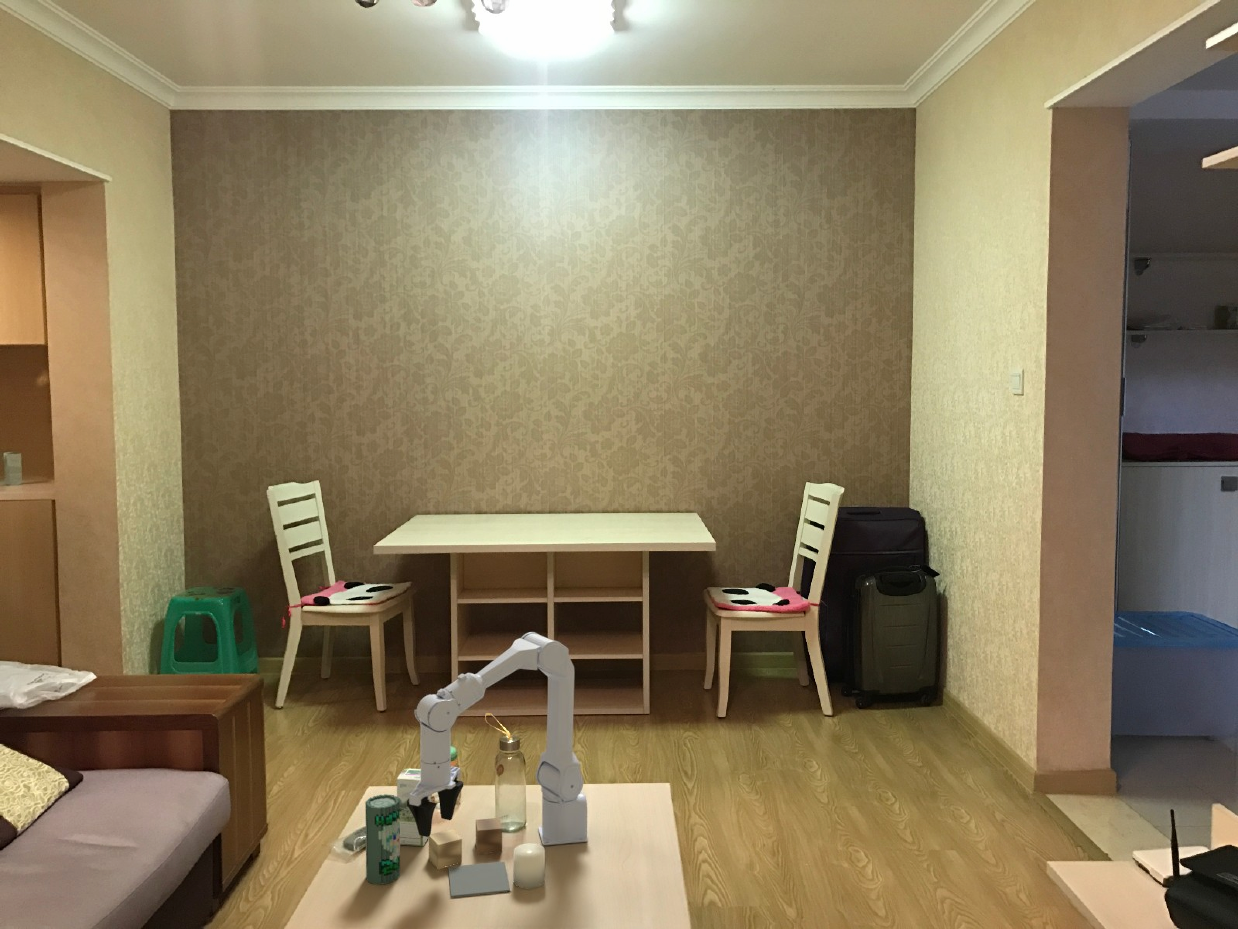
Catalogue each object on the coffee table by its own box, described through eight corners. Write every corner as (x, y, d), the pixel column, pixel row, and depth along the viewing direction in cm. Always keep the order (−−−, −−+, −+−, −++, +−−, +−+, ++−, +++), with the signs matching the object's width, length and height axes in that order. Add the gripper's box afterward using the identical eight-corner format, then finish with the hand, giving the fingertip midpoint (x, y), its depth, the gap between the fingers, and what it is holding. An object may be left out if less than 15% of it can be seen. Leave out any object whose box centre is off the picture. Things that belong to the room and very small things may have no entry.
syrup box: (431, 834, 202) (431, 768, 201) (423, 847, 197) (423, 779, 195) (405, 833, 203) (405, 766, 202) (396, 846, 197) (395, 778, 196)
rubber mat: (504, 863, 190) (504, 861, 190) (510, 892, 180) (510, 889, 180) (448, 868, 188) (448, 866, 188) (451, 898, 177) (450, 895, 177)
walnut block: (499, 841, 200) (499, 817, 200) (502, 852, 195) (502, 828, 195) (475, 843, 199) (475, 819, 199) (477, 854, 194) (477, 830, 194)
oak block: (452, 852, 195) (452, 829, 194) (461, 863, 191) (461, 839, 190) (428, 859, 192) (428, 835, 192) (438, 869, 188) (438, 845, 188)
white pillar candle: (542, 871, 188) (542, 842, 187) (546, 887, 182) (546, 856, 181) (511, 874, 186) (511, 845, 186) (515, 890, 180) (515, 859, 180)
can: (390, 886, 181) (390, 809, 180) (361, 882, 183) (360, 806, 181) (404, 870, 187) (403, 796, 186) (375, 867, 188) (374, 793, 187)
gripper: (431, 775, 175) (432, 847, 176) (473, 748, 188) (473, 815, 189) (399, 769, 178) (400, 840, 179) (443, 743, 191) (443, 809, 192)
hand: (435, 827), depth 184 cm, fingers open, 7 cm apart
